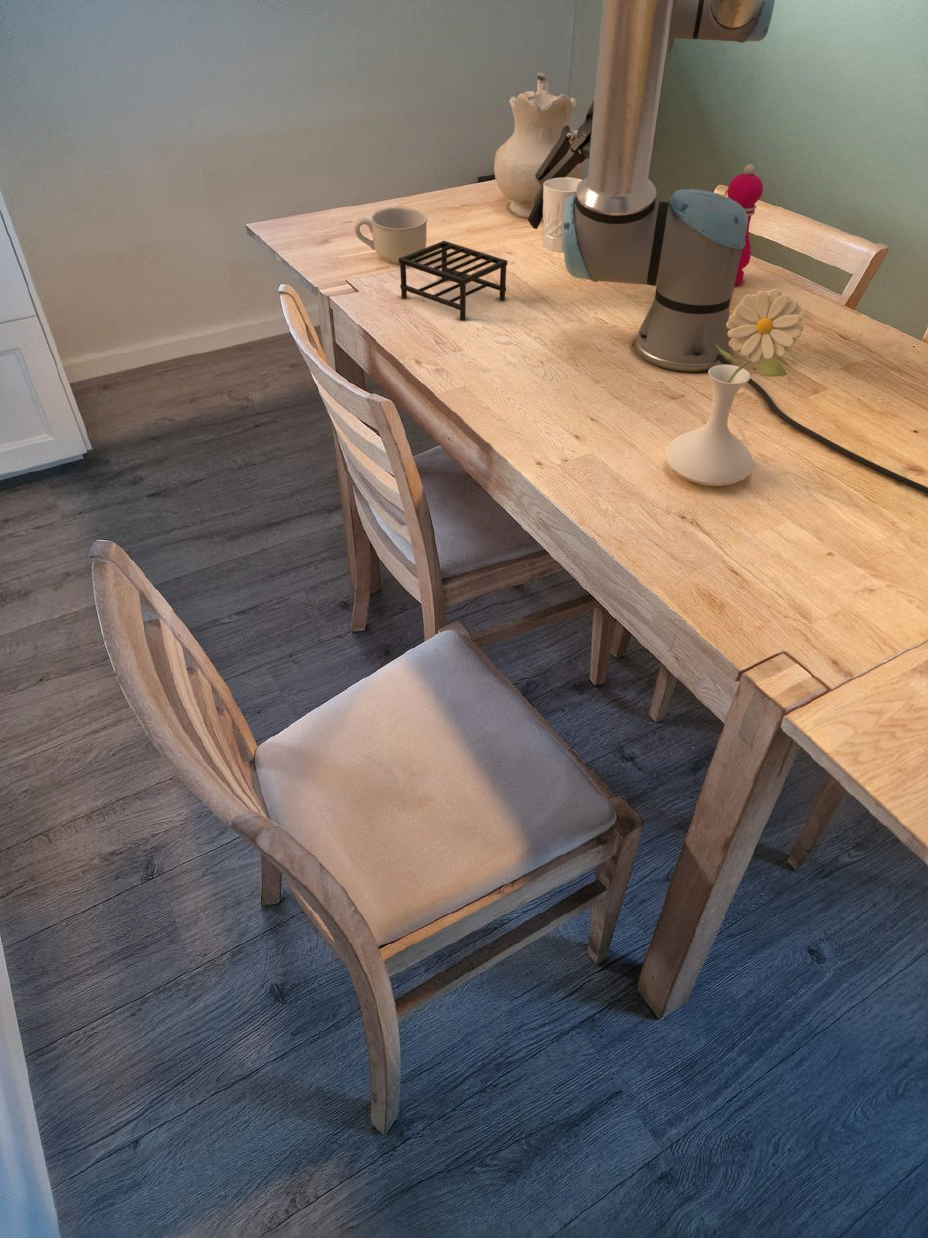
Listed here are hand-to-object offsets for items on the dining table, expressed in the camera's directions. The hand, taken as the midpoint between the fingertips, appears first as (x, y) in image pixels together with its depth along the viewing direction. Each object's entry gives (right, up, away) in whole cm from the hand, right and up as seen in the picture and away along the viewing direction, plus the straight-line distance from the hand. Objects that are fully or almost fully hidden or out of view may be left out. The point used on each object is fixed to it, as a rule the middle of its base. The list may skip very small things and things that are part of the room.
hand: (551, 229), depth 141 cm
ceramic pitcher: (+1, +27, +48) cm, 55 cm away
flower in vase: (+18, -47, -31) cm, 59 cm away
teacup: (-29, +6, +24) cm, 38 cm away
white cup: (+2, -1, +4) cm, 5 cm away
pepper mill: (+35, -2, +17) cm, 39 cm away
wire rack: (-17, -8, +10) cm, 21 cm away
